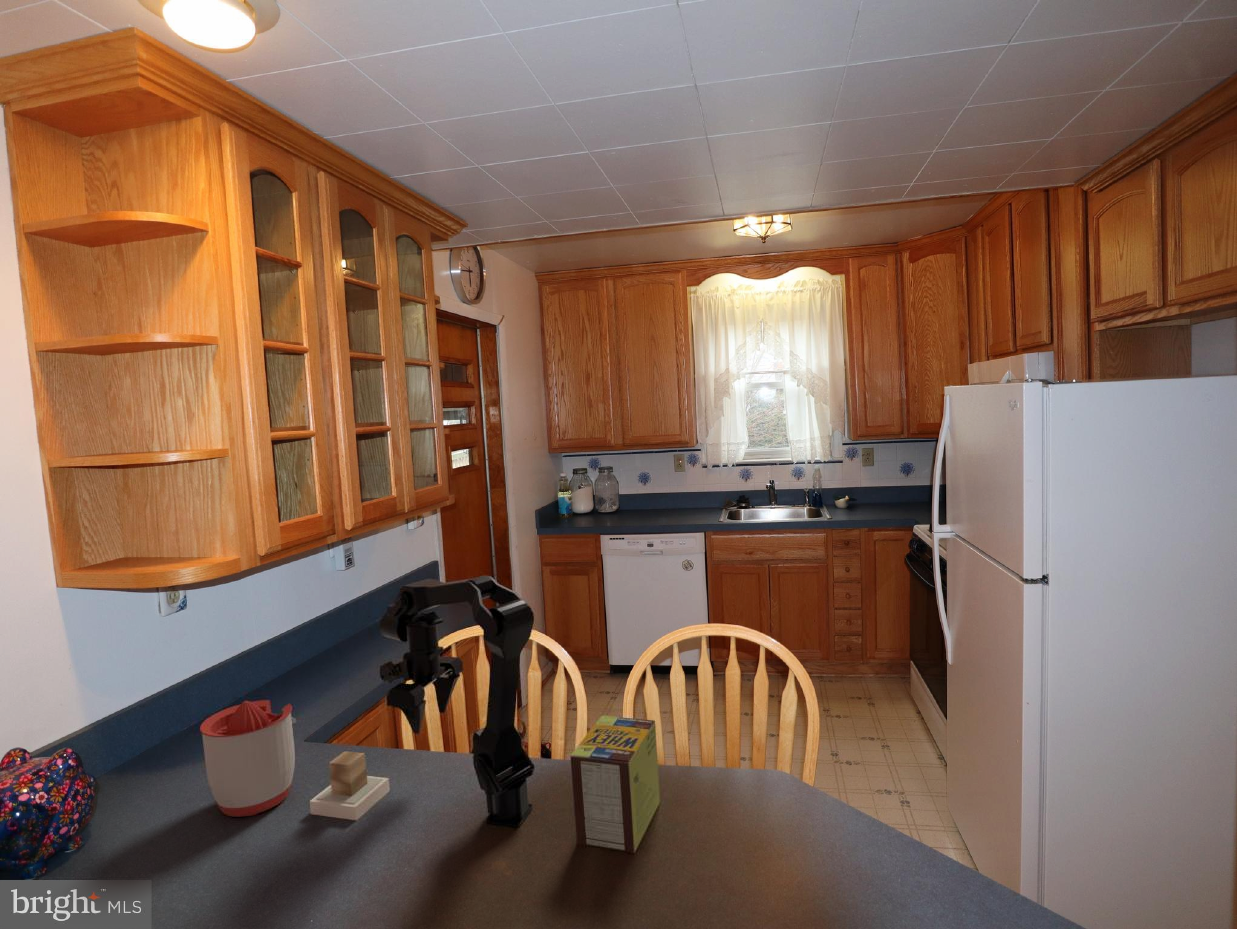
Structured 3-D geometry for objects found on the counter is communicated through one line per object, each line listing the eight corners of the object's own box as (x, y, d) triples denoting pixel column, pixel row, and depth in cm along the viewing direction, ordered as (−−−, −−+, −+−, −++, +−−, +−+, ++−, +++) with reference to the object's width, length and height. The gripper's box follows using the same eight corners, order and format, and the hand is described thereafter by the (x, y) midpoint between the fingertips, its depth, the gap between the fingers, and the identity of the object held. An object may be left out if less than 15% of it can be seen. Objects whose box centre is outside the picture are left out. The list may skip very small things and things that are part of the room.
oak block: (367, 783, 135) (364, 753, 135) (352, 796, 131) (349, 765, 131) (347, 780, 137) (345, 751, 136) (332, 793, 132) (328, 762, 132)
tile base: (389, 790, 137) (388, 777, 137) (356, 820, 128) (355, 806, 128) (346, 785, 140) (345, 772, 140) (310, 814, 131) (309, 800, 131)
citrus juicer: (325, 783, 142) (315, 686, 140) (247, 832, 126) (235, 724, 125) (270, 770, 148) (260, 677, 147) (190, 815, 133) (178, 712, 131)
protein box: (660, 802, 128) (656, 719, 127) (635, 854, 114) (629, 762, 112) (606, 794, 132) (601, 714, 130) (574, 845, 117) (568, 754, 116)
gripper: (414, 628, 149) (420, 700, 150) (357, 660, 131) (365, 741, 133) (461, 630, 146) (467, 703, 147) (409, 663, 128) (417, 746, 129)
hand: (429, 722), depth 139 cm, fingers open, 9 cm apart
